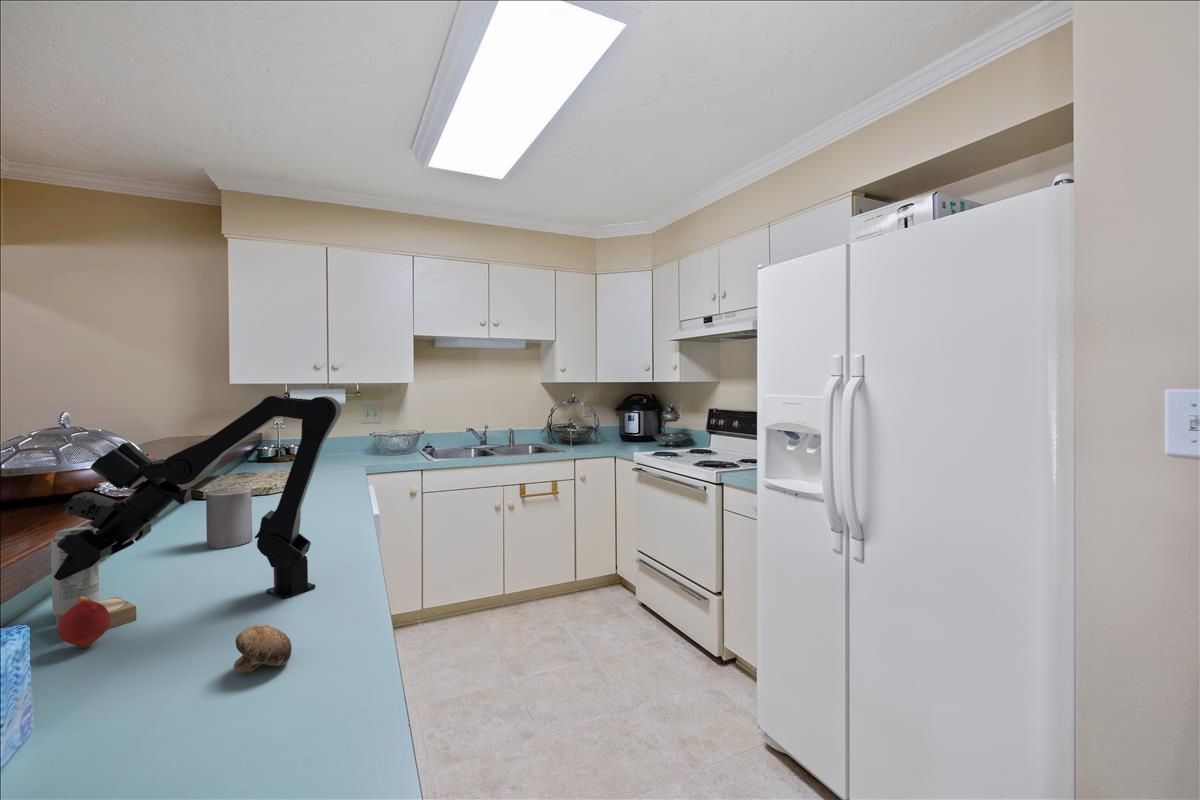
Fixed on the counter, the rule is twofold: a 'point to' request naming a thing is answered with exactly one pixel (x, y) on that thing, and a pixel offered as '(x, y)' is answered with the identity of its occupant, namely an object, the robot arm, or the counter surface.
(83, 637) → the pomegranate
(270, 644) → the mushroom
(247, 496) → the pillar candle
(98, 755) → the counter surface
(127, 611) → the pedestal
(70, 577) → the energy drink can
